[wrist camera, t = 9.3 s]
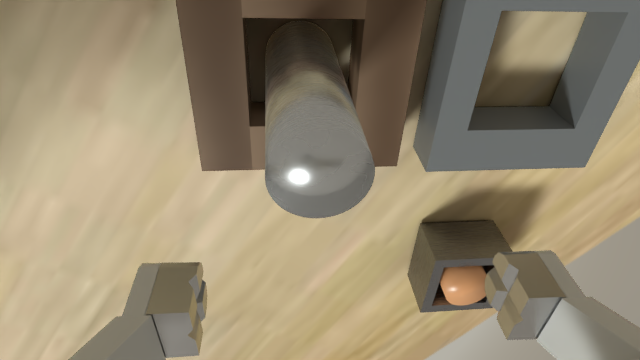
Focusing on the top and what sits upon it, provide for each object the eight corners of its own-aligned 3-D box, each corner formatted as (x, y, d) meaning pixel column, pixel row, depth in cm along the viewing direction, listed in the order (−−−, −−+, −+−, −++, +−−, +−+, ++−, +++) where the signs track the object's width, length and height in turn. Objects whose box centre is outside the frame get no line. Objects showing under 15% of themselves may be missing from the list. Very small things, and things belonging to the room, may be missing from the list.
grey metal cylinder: (266, 87, 26) (267, 220, 16) (264, 20, 24) (262, 130, 14) (331, 86, 26) (368, 216, 17) (335, 21, 24) (381, 128, 14)
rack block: (413, 146, 30) (425, 171, 27) (456, -68, 22) (479, -58, 20) (560, 143, 31) (584, 167, 28) (651, -61, 23) (695, -51, 21)
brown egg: (427, 272, 37) (441, 306, 34) (436, 243, 34) (451, 276, 32) (467, 270, 37) (484, 304, 34) (478, 241, 35) (497, 274, 32)
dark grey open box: (407, 274, 38) (420, 312, 35) (420, 223, 34) (435, 260, 31) (473, 271, 39) (492, 307, 36) (493, 220, 35) (515, 256, 32)
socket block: (207, 144, 28) (202, 171, 26) (178, -65, 21) (167, -55, 18) (386, 140, 29) (396, 166, 27) (417, -58, 22) (435, -47, 20)
